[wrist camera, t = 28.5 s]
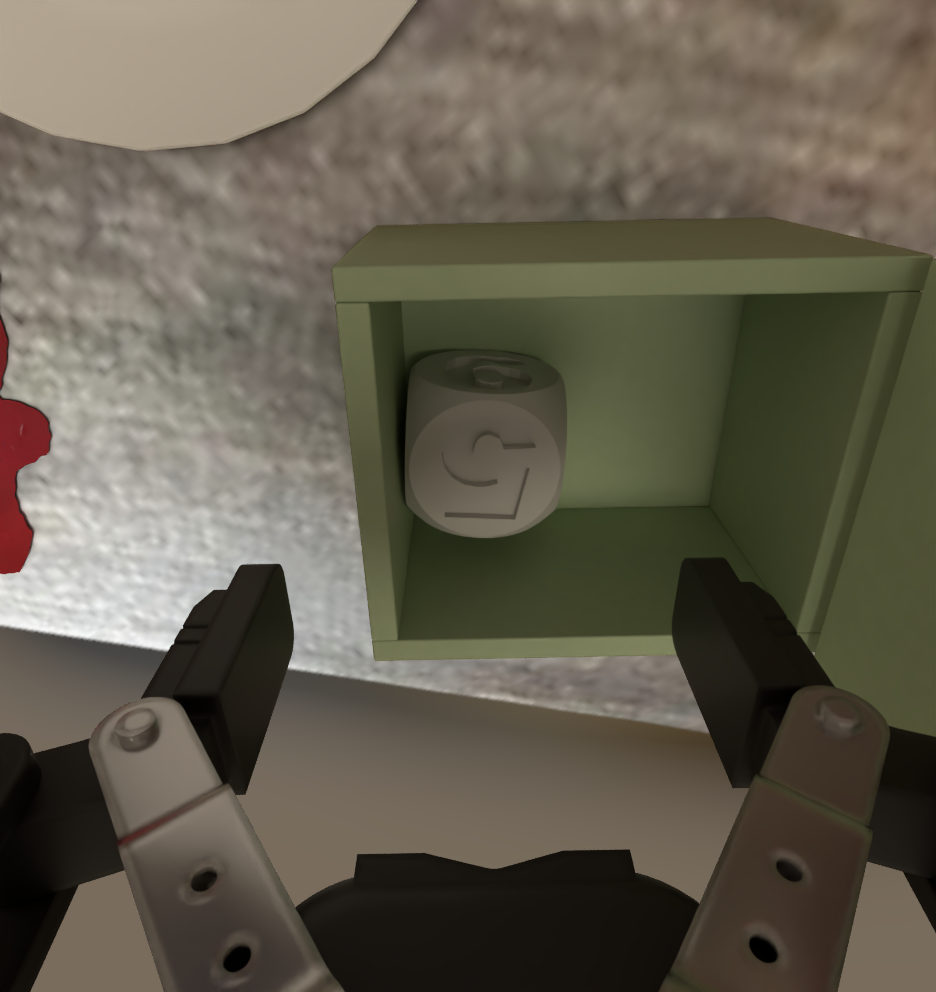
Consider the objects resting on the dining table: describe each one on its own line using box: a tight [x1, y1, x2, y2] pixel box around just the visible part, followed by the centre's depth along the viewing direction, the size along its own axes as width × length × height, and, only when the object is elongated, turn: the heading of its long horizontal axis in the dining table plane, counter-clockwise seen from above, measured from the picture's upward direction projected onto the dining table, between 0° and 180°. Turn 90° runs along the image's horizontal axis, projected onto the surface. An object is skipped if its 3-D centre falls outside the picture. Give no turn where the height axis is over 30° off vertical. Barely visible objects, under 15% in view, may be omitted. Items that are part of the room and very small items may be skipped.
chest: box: [331, 218, 933, 661], centre depth 21 cm, size 14×12×9 cm
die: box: [405, 350, 567, 538], centre depth 23 cm, size 5×5×5 cm
